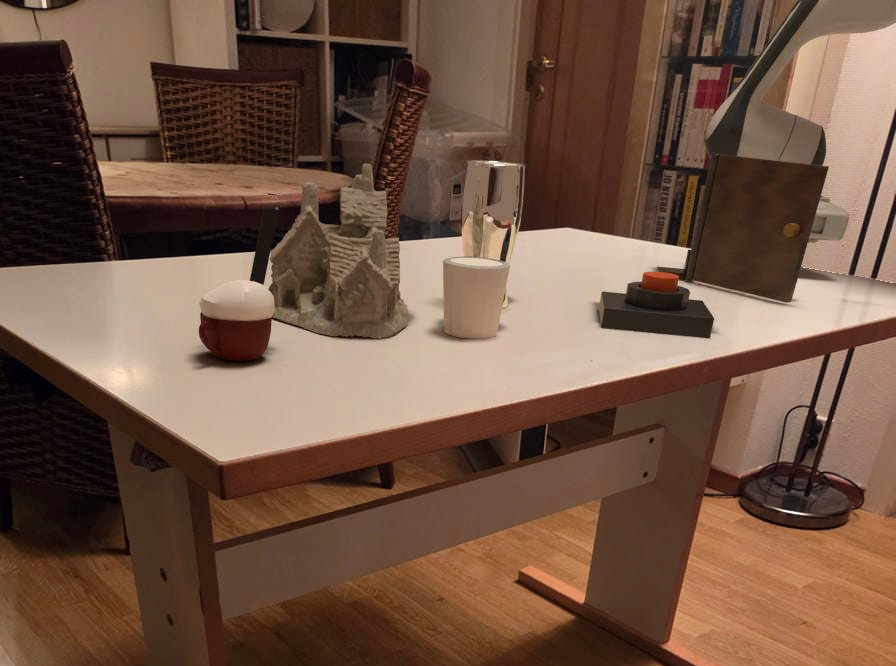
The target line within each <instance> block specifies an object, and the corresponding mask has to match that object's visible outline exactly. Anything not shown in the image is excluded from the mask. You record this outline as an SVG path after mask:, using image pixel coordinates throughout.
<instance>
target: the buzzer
mask: <svg viewBox="0 0 896 666" xmlns="http://www.w3.org/2000/svg"><path fill="white" fill-rule="evenodd" d="M641 283H642V281H632V282H629V283H627V286H626V291H625V292H613V291H601V293H600V299H599V304H598V315H599V324H600V328H601V329H609V330H617V331H618V330H619V331H628V332H629V331H630V332H639V333H640V332H641V333H651V334H662V335H672V336H683V337H692V338H694V337H695V338H702V339H703V338H704V339H711V334H712V330H713V326H714V322H715V317H714V315H713V314H712V312H711V311H710V310H709V308H708V306H707V305H706V304H705V302H704V300H699V299H690V294H691V291H690V289H689V288H687V287H685V286H681V285H677V290H676V292H663V291H654V290H648V289H644V288H641Z"/></svg>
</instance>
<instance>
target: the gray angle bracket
mask: <svg viewBox="0 0 896 666" xmlns="http://www.w3.org/2000/svg"><path fill="white" fill-rule="evenodd" d="M690 254H691V249H687V253H686V258H685V263H684V267H683V268H677V267H669V266H668V267H666V266H656V270H655V272H665V273H671V274H675V275H678V276H679V280H678V281H687V282H692V281H693V280H688V279H685V277H686V272H687V268H688V263H689V258H690Z"/></svg>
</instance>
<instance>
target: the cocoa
mask: <svg viewBox="0 0 896 666" xmlns="http://www.w3.org/2000/svg"><path fill="white" fill-rule="evenodd" d="M279 210H280V209H279V208H278V206H273V205H266V206H264V207H263V210H262V215H261V221H260V225H259V230H258V236H257V241H256V246H255V251H254V256H253V261H252V267H251V271H250V276H249V280H248V279H233V280H229V281H226V282H224V283H222V284H220V285H218V286H217V287H215V288H213V289H211V290H208V291H206V292H205V293H204V294H203V295H202V296H201V297H200V301H199V308H200V314H199V319H200V324H199V326H198V336H199V339H200V341H201V343H202V344H203V345H204V347H205V348H206V349H207V350H209V351H210V352H211V353H212V354H213V355H215V356H216V357H217V358H219V359H220V360H226V361H233V362H246V361H247V362H248V361H254V360H258V358H260V357H262V355H264V353H265V352H266V351H267V349H268V346H269V343H270V338H271V333H272V319H273V317H272V315H273V313H274V311H275V305H274V297H273V295H272V294H271V292H270V291H269V290H268V289H269V287H267V286H266V285H265V281H266V275H267V272H268V271H267V270H268V265H269V261H270V257H271V251H272V246H273V240H274V235H275V230H276V226H277V222H278V216H279Z"/></svg>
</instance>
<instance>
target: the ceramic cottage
mask: <svg viewBox="0 0 896 666" xmlns="http://www.w3.org/2000/svg"><path fill="white" fill-rule="evenodd" d="M374 186H375V185H374V174H373V166H372V164H370V163H363V164H362V167H361V173H360V174H356V175H355V177H354V179H353V181H352V185H351V187H346V186H340V189H339V210H340V211H339V221H340V224H326V223H322V222H321V221H320V217H319V192H318V191H319V185H317V183H316V182H308V181H306V182H304V183H302V185H301V187H302V188H301V189H302V190H301V203H300V205H301V206H300V212H299V215H297V216H296V218H294V222H293V224H292V226H291V228H290V229H289V230H288V231H287V233H285V234H284V237H282V240H280V241H279V242H278V243H277V244H276V246H274V248H273V249H271V251H270V256H269V261H270V263H271V267H270V270H271V272H272V273H271V275H270V277H271V279H272V280H271V283H270V284H269V286H268V290H269V291H270V292H271V294H272V295H273V297H274V305H275V311H274V313H273V315H272V319H277V320H279V321H281V322H283V323H284V322H285V323H288V324H291V325H294V326H295V325H296V326H298V327H301V328H303V329H305V330H308V331H310V332H313V333H316V334H321V335H327V336H330V337H337V336H338V337H340V336H341V337H345V338H346V337H347V338H348V337H349V336H350V337H351V338H353V337H354V336H358V337H363V338H366V337H367V338H372V339H373V338H374V339H376V338H377V339H380V340H381V339H382V338H384V339H386V338H390V337H391V336H395V334H397V333H398V332H399V333H400V332H401V330H402V329H404V328H406V327H407V326H408V324H409V316H408V313H409V311H408V309H409V308H408V304H406V303H405V301H404V299H403V298H401V291H400V283H401V259H400V252H401V246H400V237H391V238H386V235H385V232H386V230H387V227H388V225H387V220H388V203H387V195H388V194H387V191H386V190H381V191H380V190H379V191H377V190H375V187H374Z"/></svg>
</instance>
